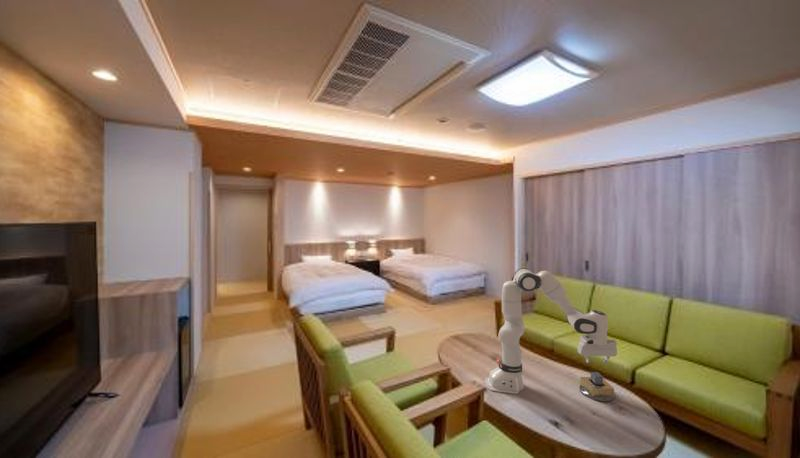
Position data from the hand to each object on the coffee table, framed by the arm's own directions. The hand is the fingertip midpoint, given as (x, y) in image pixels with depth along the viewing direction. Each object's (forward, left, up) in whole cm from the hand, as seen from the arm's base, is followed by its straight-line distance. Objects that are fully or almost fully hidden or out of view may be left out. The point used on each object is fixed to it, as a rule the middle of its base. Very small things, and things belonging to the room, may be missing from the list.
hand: (596, 362), depth 178 cm
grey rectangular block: (0, 0, -17) cm, 17 cm away
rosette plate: (0, 0, -18) cm, 18 cm away
